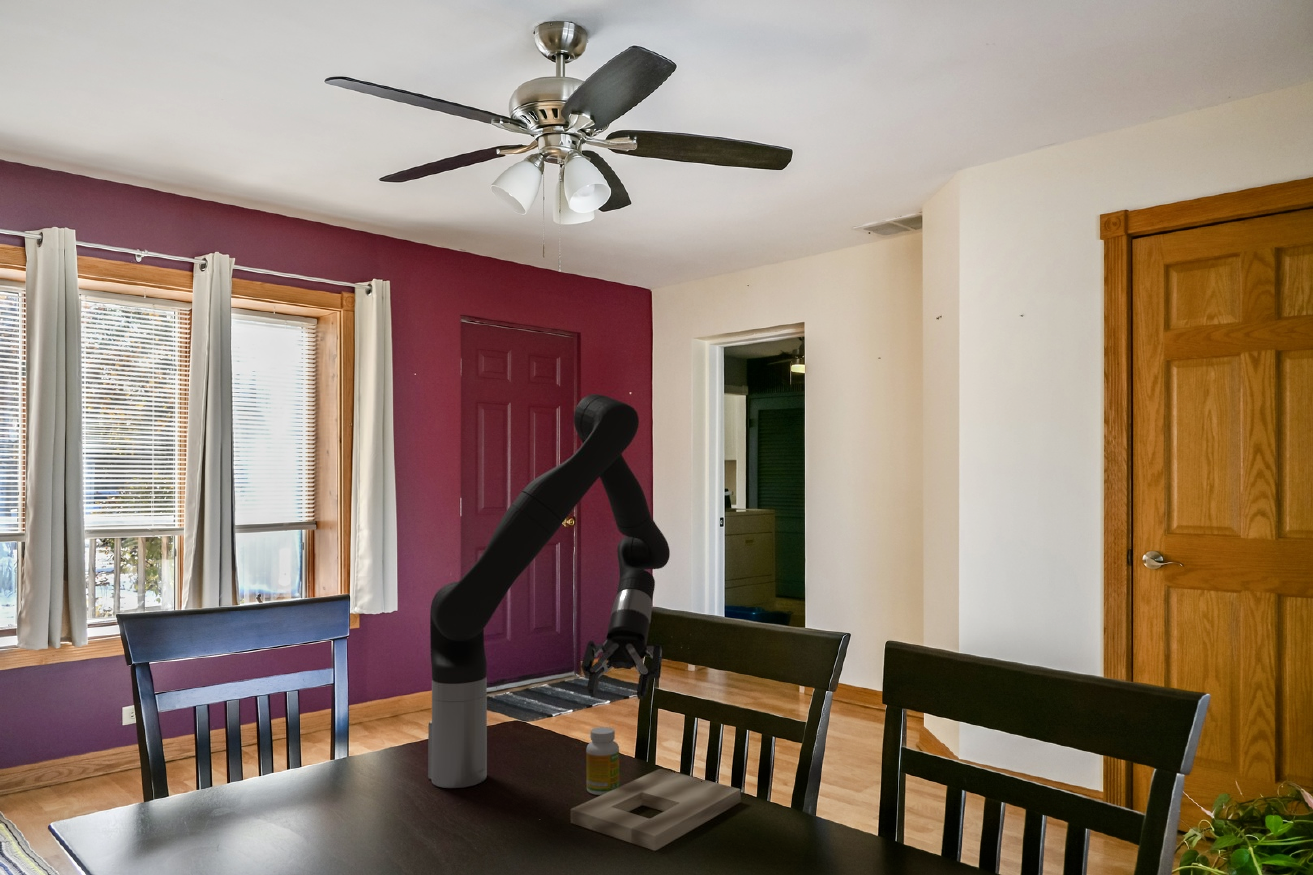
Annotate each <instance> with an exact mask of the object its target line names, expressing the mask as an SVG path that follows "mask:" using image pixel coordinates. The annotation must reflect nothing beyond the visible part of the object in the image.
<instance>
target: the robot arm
mask: <svg viewBox="0 0 1313 875" xmlns="http://www.w3.org/2000/svg"><path fill="white" fill-rule="evenodd" d="M639 423H640V419H639V414H638V411H637V410H636V409H635V408H634V407H632V406H631V405H630V404H627V403H625V402H623V401H620V400H618V399H615V398H613V397H609V396H606V395H604V394H599V393H597V394H596V393H594V394H593V393H591V394H589V395H587V396H585V397H583V398H582V399H581V400H580V401H579V402H578V404H577V406H576V407H575V411H574V414H573V424H574V428H575V430H576V432H577V435H578V438H579V439H580V440H581V442H582V444H581V445H580V447H579V448H578V449H577V450H576V452H574V454H572V455H571V456H570V457H569V458H567V459H566V460H565V461H563V462H561V463H560V464H559V465H556V466H554V467H552V468H551V469H550V470H547V471H546V472H544V473H542V474H541V475H539V476H537V477H536V478H535V479H533V480H532V481H531V482H529V483H528V484H527V485H526V486H525V487H524V488H523V489H522V491H521V492H520V493H519V495H518V496H517V497H516V498H515V499H514V501H513V502H512V503H511V504H510V506H509V507H508V509H507V510H506V512H505V513H504V515H503V516H502V517H501V519H500V521H499V522H498V524H497V527H495V530H494V532H493V534H492V535H491V538H490V540H489V542H488V544H487V545H486V548H485V549H484V550H483V553H481V555H480V557H479V558H478V559H477V561H476V562H475V563H474V564H473V565H472V567H471V568H469V570H468V571H467V572H466V573H465V574H464V576H462V577H461V578H460V579H459V581H454V582H450V583H448V584H445V585H444V586H442V587H441V588H440V589H439V590H438V591H437V592H436V593H435V594H434V596H433V598H432V601H431V604H430V614H429V615H430V616H429V617H430V618H429V622H430V623H429V624H430V625H429V626H430V627H429V628H430V630H429V631H430V633H429V634H430V635H429V636H430V637H429V638H430V640H429V641H430V662H431V664H430V666H431V721H429V722H428V727H427V728H428V737H427V738H428V741H427V744H428V750H427V752H428V755H427V757H428V758H427V760H428V761H427V762H428V765H427V767H428V768H427V770H428V771H427V773H428V774H427V776H428V777H427V779H430V780H431V783H432V784H433V785H434V786H436V787H439V788H445V789H458V788H459V789H461V788H467V787H471V786H476V785H477V784H480V783H482V782H485V780H486V779H487V776H488V775H487V772H488V771H487V770H488V769H487V768H488V766H487V765H488V764H487V762H488V761H487V760H488V758H487V756H488V751H487V750H488V749H487V748H488V746H487V745H488V744H487V743H488V740H487V738H488V736H487V735H488V734H487V733H488V732H487V731H488V727H487V725H488V723H487V721H488V720H487V719H488V716H487V715H488V710H487V709H488V706H487V705H488V702H487V700H488V699H487V698H488V694H487V691H488V689H487V687H488V686H487V685H488V684H487V683H488V681H487V680H488V679H487V677H488V672H487V667H488V664H487V663H488V662H487V657H486V650H485V628H486V626H487V625H488V624H489V622H490V621H491V619H492V617H493V616H494V615H495V613H496V611H497V608H498V607H499V606H500V604H501V602H502V601H503V600H504V599H505V596H506V594H507V593H508V591H509V590H510V588H512V586H513V584H514V583H515V581H516V580H517V579H518V578H519V577H520V576H521V574H522V573H523V572H524V571H525V570H526V568H528V566H529V565H531V563H532V562H533V561H534V560H535V558H536V557H537V556H538V555H539V554H540V552H541V551H542V550H543V548H544V547H545V546H546V545H547V544H548V543H549V541H551V539H552V538H553V536H555V534H556V533H557V532H558V530H559V529H560V527H562V524H563V523H564V522H565V521H566V519H567V518H568V516H570V514H571V512H572V511H573V509H575V507H576V506H577V505H578V503H579V502H580V501H581V500H582V498H584V496H585V495H586V494H587V493H588V491H589V490H590V489H591V487H592V486H593V485H594V484H595V482H597V480H598V479H600V481H601V484H602V486H603V489H604V491H605V493H606V494H605V495H606V496H607V499H608V501H609V505H610V508H611V512H612V514H613V518H614V521H615V524H616V527H617V530H618V531H619V533H620V534H621V535H623V536H625V537H623V538H622V539H621V540H619V542H618V545H617V547H616V548H617V549H616V552H617V554H616V555H617V560H618V568H619V569H618V570H619V581H618V587H617V592H616V597H615V600H614V602H613V605H612V609H611V614H610V619H609V623H608V627H607V628H608V629H607V633H606V638H605V641H604V642H603V643H602V644H597V643H595V641H594V640H590V641H588V642H587V644H586V645H587V646H586V649H585V651H584V654H583V655H584V656H583V659H582V661H581V662H582V663H581V665H580V667H581V670H582V672H583V676H585V677H588V680H587V681H588V682H587V686H586V689H587V691H588V694H589V696H590V697H591V698H596V696H597V692H598V688H599V682H600V677H601V676H602V675H604V674H607V673H608V672H609V671H610V670H611V669H612V668H613V669H614V670H615V669H616V670H617V669H618V670H620V669H625V670H631V669H633V668H635V670H636V672H637V673H638V674H639V678H638V682H637V688H636V697H637V700H640V701H641V700H644V699H643V698H644V697H646V696H647V694H648V688H649V682H650V681H651V680H653V679H655V680H659V679H660V678H661V674H662V673H661V672H662V663H663V662H662V661H663V650H662V647H661V644H660V643H659V642H655V643H654V645H647V642H648V637H649V630H650V626H651V620H652V609H653V607H652V606H653V605H652V604H653V599H654V593H655V589H656V588H655V586H656V582H655V577H654V575H653V574H651V573H650V572H649V571H647V570H659V569H662V568H664V567H665V566H666V565H667V563H669V560H670V555H671V554H670V546H669V544H668V541H667V538H666V537H665V535H664V534H663V532H662V531H661V529H660V527H659V526H658V525H657V523H656V521H655V520H654V519H653V516H652V515H651V512H650V509H649V505H648V501H647V498H646V495H645V493H644V490H643V488H642V486H641V484H640V482H639V481H638V479H637V477H636V475H635V474H634V473H633V471H632V470H631V467H630V466H629V465H628V463H627V462H626V460H625V458H624V455H623V453H624V451H625V450H626V449H627V448H628V447H629V446H630V445H631V443H632V442H633V440H634V438H635V436H636V434H637V433H638V429H639V425H640V424H639ZM600 653H603V654H602V655H601V656H600V657H599V658H598V655H599V654H600ZM648 654H649V655H650V656H649V657H650V658H651V660H652V663H651V664H652V665H651V668H647V667H646V665H645V664H644V661H643V659H644V658H645V657H646V656H647V655H648ZM595 658H598V659H597V661H596V663H595V664H594V662H595Z"/></svg>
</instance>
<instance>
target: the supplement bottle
mask: <svg viewBox="0 0 1313 875" xmlns="http://www.w3.org/2000/svg"><path fill="white" fill-rule="evenodd" d="M615 732H616V731H615V729H614V728H613V727H610V726H609V727H608V726H598V727H597V726H596V727H593V728H591V730H590V737H589V738H590V740H591V742H589V743H588V744H587V746H586V790H587V792H588V793H590V794H592V795H595V796H601V795H603V794H605V793H607V792H610V791H612V790H614V789H616V788H618V787H620V746H619V744H618V742H616V741H615V739H616V735H615V734H616V733H615Z"/></svg>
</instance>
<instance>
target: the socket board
mask: <svg viewBox="0 0 1313 875" xmlns="http://www.w3.org/2000/svg"><path fill="white" fill-rule="evenodd" d="M674 772H675V771H672V772H671V770H668V769H664V768H659V769H656V770H654V771H652V772H649V773H647V774H645V775H643V776H641V777H639V778H636V779H634V780H632V781H630V782H628V783H625V784H623V785H621V786H619V787H618V788H616V789H614V790H612V791H610V792H607V793H605V794H603V795H598V796H596V797H595V798H594V797H593V798H592V799H590V800H588V801H586V802H583V803H581V804H578V805H576V806H574V807H572V808H571V809H570V824H573V825H576V826H579V827H582V828H585V829H588V830H590V831H594V832H596V833H600V834H603V835H606V836H608V837H613V838H615V839H618V840H620V841H625V842H627V843H630V844H632V845H637V846H639V847H642V848H646V849H649V850H651V851H658V850H660V849H661V848H663V847H665V846H666V845H668V844H670V843H671V842H674V841H675V840H676V839H679V838H680V837H682V836H684V835H686V834H688V833H689V832H691V831H693V830H694V829H696V828H698V827H699V826H701V825H703V824H705V823H707V822H708V821H711V819H714V818H715V817H717V816H718V815H721V814H722V813H725V812H726V811H727V810H729V809H731V808H733V807H734V806H736V805H738V804H740V803H741V798H742V797H741V789H740V788H738V787H734V786H730V785H726V784H722V783H717V782H716V781H715V782H713V781H711V780H707V779H703V778H699V777H695V776H690V775H686V774H683V773H680V772H675V773H674ZM701 781H702V782H701ZM641 806H645V807H648V808H650V809H654V810H656V811H657V810H658V811H661V812H660V813H658V814H657V815H655V816H654V815H653V817H651V818H648V817H645V816H641V815H638V814H635V813H632V812H631V811H633V810H635V809H637V808H638V807H641Z"/></svg>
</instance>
